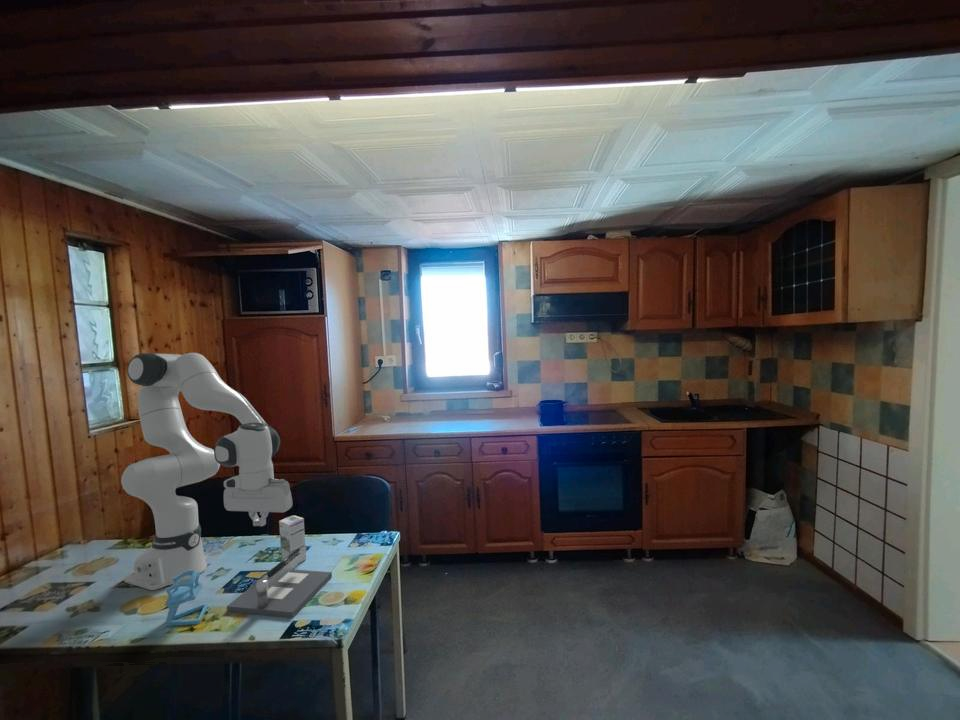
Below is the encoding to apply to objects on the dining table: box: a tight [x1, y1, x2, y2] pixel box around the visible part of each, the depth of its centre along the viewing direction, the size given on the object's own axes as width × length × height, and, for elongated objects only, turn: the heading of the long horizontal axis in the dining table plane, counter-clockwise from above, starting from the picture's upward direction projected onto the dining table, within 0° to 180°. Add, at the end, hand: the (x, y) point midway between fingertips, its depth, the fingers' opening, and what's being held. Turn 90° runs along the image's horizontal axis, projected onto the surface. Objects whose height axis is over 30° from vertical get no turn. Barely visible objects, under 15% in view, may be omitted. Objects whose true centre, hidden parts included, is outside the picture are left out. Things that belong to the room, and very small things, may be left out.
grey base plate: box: [226, 568, 333, 619], centre depth 117 cm, size 20×19×5 cm
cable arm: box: [255, 548, 305, 595], centre depth 117 cm, size 3×19×4 cm, turn 170°
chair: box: [164, 571, 208, 627], centre depth 107 cm, size 8×8×12 cm
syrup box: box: [278, 514, 307, 563], centre depth 135 cm, size 6×6×14 cm
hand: (259, 525), depth 118 cm, fingers closed
